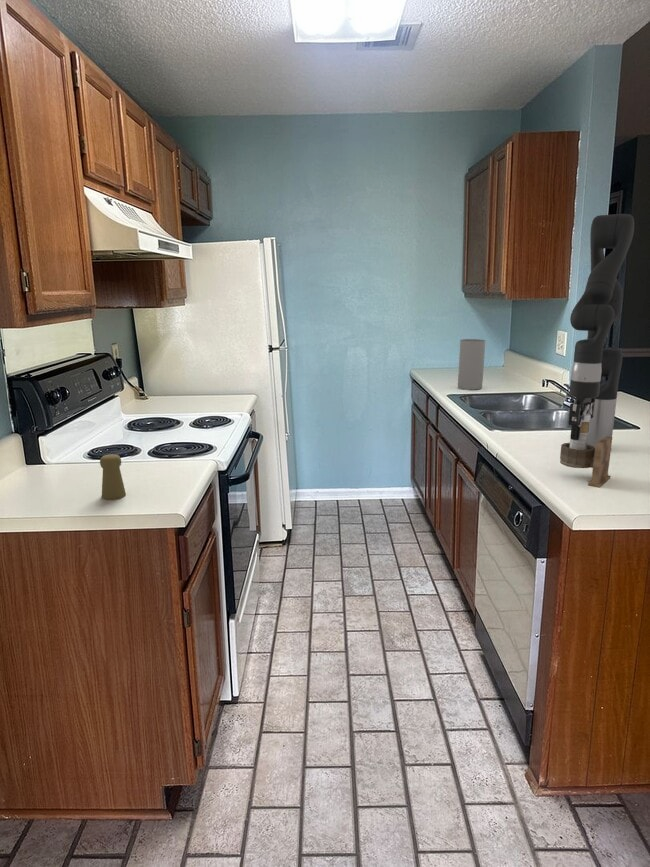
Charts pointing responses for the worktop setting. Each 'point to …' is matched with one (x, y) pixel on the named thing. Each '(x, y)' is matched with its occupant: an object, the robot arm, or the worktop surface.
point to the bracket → (590, 459)
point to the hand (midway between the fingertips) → (579, 436)
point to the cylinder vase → (471, 364)
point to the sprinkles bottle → (581, 435)
